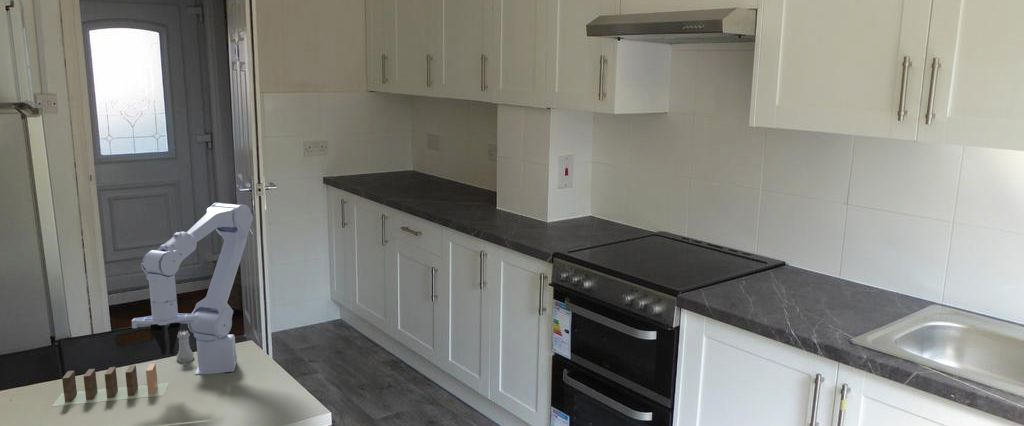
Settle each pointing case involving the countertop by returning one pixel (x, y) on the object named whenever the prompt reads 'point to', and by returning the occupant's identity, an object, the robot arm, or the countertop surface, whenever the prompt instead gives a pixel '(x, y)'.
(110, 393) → the domino
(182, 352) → the rook chess piece
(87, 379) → the domino
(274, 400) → the countertop surface
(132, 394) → the domino
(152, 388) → the terracotta domino
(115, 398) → the sage mat
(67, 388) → the domino
